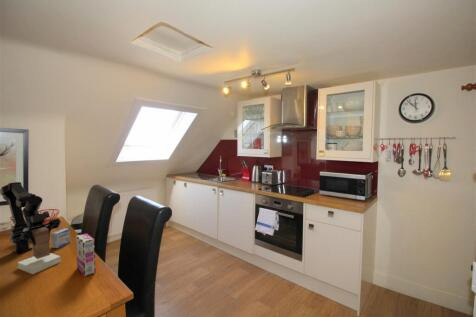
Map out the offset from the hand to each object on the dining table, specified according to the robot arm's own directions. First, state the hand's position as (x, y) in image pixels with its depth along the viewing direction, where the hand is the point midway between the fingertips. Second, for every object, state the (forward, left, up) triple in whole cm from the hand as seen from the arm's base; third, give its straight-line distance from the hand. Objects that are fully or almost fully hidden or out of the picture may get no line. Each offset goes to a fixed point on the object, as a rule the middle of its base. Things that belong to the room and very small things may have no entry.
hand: (42, 242), depth 115 cm
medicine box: (-17, +18, -12) cm, 28 cm away
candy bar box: (+22, +6, -12) cm, 26 cm away
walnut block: (-1, 0, -7) cm, 7 cm away
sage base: (-3, 0, -12) cm, 13 cm away
